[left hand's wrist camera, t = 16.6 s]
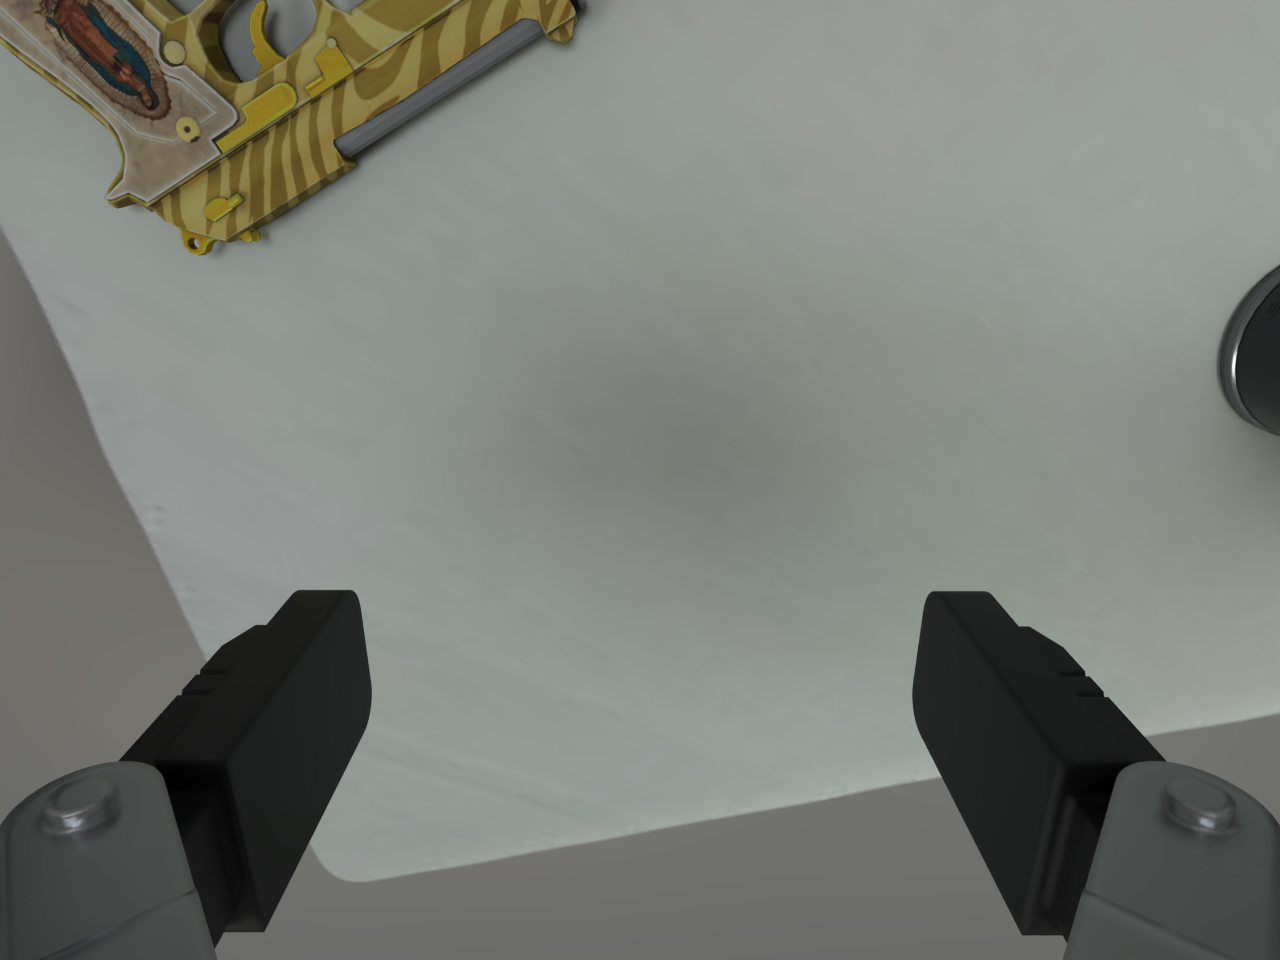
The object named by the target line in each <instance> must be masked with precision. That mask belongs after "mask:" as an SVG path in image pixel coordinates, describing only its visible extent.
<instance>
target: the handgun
mask: <svg viewBox="0 0 1280 960" xmlns="http://www.w3.org/2000/svg"><path fill="white" fill-rule="evenodd" d="M234 1H235V0H204V1H203V2H201V3H200V4H199V5H198V6H197V7H196V8H195V9H194V10H192V11H191V12H190V13H189V14H187V15H183V14H181V13H180V12H179V11H177V10H176V9H175V8H174V7H173V6H172V5H171V4H170V3H169V2H168V1H167V0H0V44H1V45H3V46H4V47H5V48H6V49H7V50H9V51H10V52H11V53H12V54H13V55H15V56H16V57H17V58H18V59H19V60H21V61H22V62H23V63H24V64H25V65H27V66H28V67H29V68H30V69H32V70H33V71H34V72H36V73H37V74H38V75H40V76H41V77H42V78H44V79H45V80H46V81H48V82H49V83H51V84H52V85H53V86H55V87H56V88H57V89H59V90H60V91H61V92H63V93H64V94H65V95H67V96H68V97H69V98H71V99H72V100H73V101H75V102H77V103H78V104H79V105H81V106H82V107H83V108H84V109H85V110H87V111H88V112H89V113H90V114H91V115H93V116H94V117H95V118H96V119H97V120H98V121H99V122H101V123H102V124H103V125H104V126H105V127H106V128H107V129H108V130H109V131H110V132H111V133H112V135H113V136H114V137H115V139H116V142H117V144H118V147H119V150H120V153H121V155H122V166H121V169H120V171H119V173H118V175H117V176H116V178H115V179H114V180H113V182H112V184H111V186H110V187H109V189H108V191H107V194H106V196H105V200H106V202H108V203H109V204H110V205H111V206H113V207H115V208H117V209H118V208H122V207H125V206H129V205H133V204H136V203H139V204H141V205H142V206H144V207H145V208H147V209H148V210H150V211H151V212H152V211H155V212H156V213H157V214H158V215H159V216H160V217H161V218H162V219H163V220H164V221H166V222H168V223H170V224H172V225H174V226H177V227H179V230H180V233H181V239H182V242H183V245H184V247H185V248H186V249H187V250H188V252H189V253H191V254H195V255H206V254H207V253H209V252H210V251H211V250H212V247H213V245H214V243H215V241H217V240H222V241H226V242H229V243H230V242H233V241H237V240H240V239H243V240H244V241H245V242H248V243H250V242H252V241H255V242H258V241H260V240H261V235H260V233H259V231H258V229H259V228H260V227H262V226H263V225H265V224H267V223H268V222H270V221H271V220H273V219H274V218H276V217H278V216H279V215H281V214H282V213H284V212H285V211H287V210H289V209H290V208H292V207H293V206H295V205H296V204H298V203H300V202H301V201H303V200H304V199H306V198H307V197H309V196H311V195H312V194H314V193H315V192H317V191H318V190H320V189H321V188H323V187H325V186H326V185H328V184H329V183H331V182H332V181H334V180H336V179H337V178H339V177H340V176H342V175H343V174H345V173H347V172H348V171H350V170H351V169H353V168H354V167H356V162H355V160H354V159H353V157H352V156H353V155H354V154H356V153H357V152H359V151H361V150H362V149H364V148H365V147H367V146H368V145H370V144H371V143H373V142H375V141H376V140H378V139H379V138H381V137H382V136H384V135H386V134H387V133H389V132H390V131H392V130H393V129H395V128H397V127H398V126H400V125H401V124H403V123H404V122H406V121H407V120H409V119H411V118H412V117H414V116H415V115H417V114H418V113H420V112H422V111H423V110H425V109H426V108H428V107H429V106H431V105H432V104H434V103H436V102H437V101H439V100H440V99H442V98H443V97H445V96H447V95H448V94H450V93H451V92H453V91H454V90H456V89H458V88H459V87H461V86H462V85H464V84H465V83H467V82H468V81H470V80H472V79H473V78H475V77H476V76H478V75H479V74H481V73H483V72H484V71H486V70H487V69H489V68H490V67H492V66H493V65H495V64H497V63H498V62H500V61H501V60H503V59H504V58H506V57H508V56H509V55H511V54H512V53H514V52H515V51H517V50H518V49H520V48H522V47H523V46H525V45H526V44H528V43H529V42H531V41H533V40H534V39H536V38H537V37H539V36H540V35H542V34H544V33H545V35H546V37H547V39H548V40H549V41H551V40H554V41H557V42H561V43H567V42H568V41H570V40H571V39H572V38H573V32H574V26H575V25H576V24H577V22H578V19H577V16H576V12H578V11H579V10H581V9H583V8H584V7H586V6H587V4H588V3H587V0H364V1H363V2H361V3H360V4H358V5H357V6H355V7H354V8H353V9H351V12H344V11H342V10H340V9H338V8H336V7H335V6H334V5H333V4H332V3H331V2H330V1H329V0H313V2H314V4H315V6H316V11H317V18H316V23H315V26H314V28H313V30H312V33H311V35H310V36H309V37H308V38H307V39H306V40H305V41H304V42H303V43H302V44H301V45H300V46H298V47H297V48H296V49H295V50H294V51H293V52H292V53H291V54H290V55H289V56H288V57H287V58H286V59H285V58H283V57H282V56H280V55H279V54H278V53H277V52H276V51H275V50H274V49H273V48H272V46H271V45H270V44H269V42H268V41H267V38H266V36H265V33H264V20H265V16H266V13H267V9H268V5H267V2H266V0H261V1H260V2H258V3H257V4H256V6H255V8H254V10H253V12H252V14H251V16H250V24H249V30H250V34H251V38H252V41H253V43H254V45H255V47H254V48H253V49H252V50H251V51H252V53H253V54H254V56H255V58H256V59H257V60H258V62H259V63H260V65H261V68H260V70H259V72H258V74H257V77H256V78H255V79H252V80H249V81H246V82H243V83H241V82H240V81H239V80H238V79H237V78H236V76H235V75H234V74H233V72H232V71H231V70H230V68H229V66H228V64H227V62H226V60H225V58H224V56H223V53H222V51H221V48H220V46H219V43H218V24H219V23H220V21H221V19H222V17H223V15H224V13H225V11H226V10H227V9H228V8H229V7H230V5H231V4H232V3H233V2H234ZM195 238H196V239H197V240H198V241H199V248H197V247H196V246H195V244H194V240H195Z"/></svg>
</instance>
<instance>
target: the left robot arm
mask: <svg viewBox="0 0 1280 960" xmlns="http://www.w3.org/2000/svg"><path fill="white" fill-rule="evenodd" d="M1220 373H1221V381H1222V385H1223V389H1224V392H1225V394H1226V397H1227V399H1228V401H1229V402H1230V404H1231V406H1232V407H1233V408H1234V410H1235V411H1236V412H1237V413H1238V414H1239V415H1240V416H1241V417H1242V418H1243V419H1244V420H1246V421H1247V422H1248V423H1250V424H1252V425H1253V426H1255V427H1257V428H1260V429H1262V430H1265V431H1267V432H1270V433H1272V434H1275V435H1278V436H1280V268H1278V269H1277V270H1275V271H1274V272H1273V273H1271V274H1270V275H1269V276H1268V277H1266V278H1265V279H1264V280H1263V281H1262V282H1261V283H1260V284H1259V285H1258V286H1257V287H1256V288H1255V289H1254V290H1253V291H1252V292H1251V293H1250V294H1249V296H1248V297H1247V298H1246V299H1245V301H1244V302H1243V303H1242V305H1241V306H1240V308H1239V309H1238V311H1237V312H1236V314H1235V316H1234V318H1233V320H1232V322H1231V324H1230V326H1229V328H1228V331H1227V333H1226V336H1225V339H1224V343H1223V347H1222V352H1221V361H1220ZM912 699H913V710H914V716H915V721H916V724H917V727H918V730H919V733H920V735H921V737H922V739H923V741H924V743H925V745H926V747H927V749H928V751H929V752H930V754H931V756H932V758H933V760H934V762H935V764H936V766H937V768H938V770H939V772H940V774H941V776H942V778H943V780H944V782H945V784H946V786H947V788H948V790H949V792H950V794H951V796H952V798H953V800H954V802H955V804H956V806H957V808H958V810H959V812H960V814H961V816H962V818H963V820H964V822H965V824H966V826H967V827H968V829H969V831H970V833H971V835H972V837H973V839H974V841H975V843H976V845H977V847H978V849H979V851H980V853H981V855H982V857H983V859H984V861H985V863H986V865H987V867H988V869H989V871H990V873H991V875H992V877H993V879H994V881H995V883H996V885H997V887H998V889H999V891H1000V893H1001V895H1002V897H1003V899H1004V901H1005V902H1006V905H1007V906H1008V908H1009V910H1010V912H1011V914H1012V916H1013V918H1014V920H1015V922H1016V924H1017V926H1018V928H1019V930H1020V932H1021V934H1022V935H1063V937H1064V939H1065V940H1066V942H1067V946H1066V950H1065V953H1064V957H1063V960H1280V825H1279V824H1278V822H1277V821H1276V819H1275V818H1274V817H1273V815H1272V814H1271V813H1270V812H1269V811H1268V810H1267V809H1266V808H1265V807H1264V806H1263V805H1262V804H1261V803H1259V802H1258V801H1257V800H1256V799H1255V798H1253V797H1252V796H1251V795H1249V794H1248V793H1246V792H1245V791H1243V790H1242V789H1240V788H1239V787H1237V786H1235V785H1233V784H1232V783H1230V782H1228V781H1226V780H1224V779H1222V778H1220V777H1218V776H1216V775H1213V774H1210V773H1208V772H1205V771H1203V770H1200V769H1197V768H1193V767H1190V766H1186V765H1182V764H1177V763H1171V762H1167V761H1166V760H1165V759H1164V758H1163V757H1162V756H1161V755H1160V754H1159V752H1158V751H1157V750H1156V749H1155V748H1154V747H1153V746H1152V745H1151V744H1150V743H1149V741H1148V740H1147V739H1146V738H1145V737H1144V736H1143V735H1142V734H1141V733H1140V731H1139V730H1138V729H1137V728H1136V727H1135V726H1134V725H1133V724H1132V723H1131V722H1130V720H1129V719H1128V718H1127V717H1126V716H1125V715H1124V714H1123V713H1122V712H1121V711H1120V709H1119V708H1118V707H1117V706H1116V705H1115V704H1114V703H1113V702H1112V701H1111V700H1110V698H1109V697H1104V692H1103V691H1102V690H1101V688H1100V687H1099V686H1098V685H1097V684H1096V683H1095V682H1094V681H1093V680H1092V679H1091V677H1090V676H1085V671H1084V670H1083V669H1082V668H1081V666H1080V665H1079V664H1078V663H1077V662H1076V661H1075V660H1074V659H1073V658H1072V657H1071V655H1070V654H1069V653H1068V652H1067V651H1066V650H1065V649H1064V648H1063V647H1062V646H1060V645H1059V644H1057V643H1055V642H1054V641H1052V640H1050V639H1049V638H1047V637H1045V636H1044V635H1042V634H1041V633H1039V632H1037V631H1036V630H1034V629H1032V628H1031V627H1019V626H1018V625H1017V624H1016V623H1015V622H1014V620H1013V619H1012V618H1011V617H1010V616H1009V615H1008V613H1007V612H1006V611H1005V610H1004V609H1003V607H1002V606H1001V605H1000V604H999V603H998V602H997V600H996V599H995V598H994V597H993V596H992V595H991V594H990V593H989V592H986V591H933V592H931V593H930V594H929V595H928V597H927V599H926V601H925V605H924V610H923V617H922V624H921V631H920V638H919V645H918V652H917V659H916V667H915V674H914V681H913V691H912ZM371 700H372V687H371V678H370V671H369V664H368V657H367V650H366V643H365V635H364V628H363V621H362V614H361V607H360V602H359V599H358V597H357V595H356V593H355V592H354V591H352V590H297V591H296V592H294V593H293V594H292V595H291V596H290V598H289V599H288V600H287V601H286V602H285V604H284V605H283V606H282V607H281V608H280V610H279V611H278V612H277V613H276V614H275V615H274V617H273V618H272V619H271V620H270V621H269V623H268V624H267V625H255V626H253V627H252V628H250V629H249V630H247V631H245V632H244V633H242V634H240V635H239V636H237V637H236V638H234V639H232V640H231V641H229V642H227V643H226V644H224V645H222V646H221V648H220V649H219V650H218V651H217V652H216V653H215V654H214V655H213V656H212V658H211V659H210V660H209V661H208V662H207V663H206V664H205V665H204V666H203V668H202V669H201V670H200V675H195V676H194V678H193V679H192V680H191V681H190V682H189V683H188V684H187V685H186V686H185V688H184V689H183V690H182V695H177V697H176V698H175V699H174V700H173V701H172V702H171V703H170V704H169V706H167V708H166V709H165V710H164V711H163V712H162V713H161V714H160V715H159V716H158V718H157V719H156V720H155V721H154V722H153V723H152V724H151V725H150V727H149V728H148V729H147V730H146V731H145V732H144V733H143V734H142V735H141V736H140V738H139V739H138V740H137V741H136V742H135V743H134V744H133V745H132V746H131V748H130V749H129V750H128V751H127V752H126V753H125V754H124V755H123V757H122V758H121V759H120V760H119V761H117V762H109V763H103V764H98V765H94V766H90V767H87V768H83V769H80V770H77V771H75V772H72V773H70V774H67V775H64V776H62V777H60V778H58V779H56V780H54V781H52V782H50V783H48V784H47V785H45V786H43V787H41V788H40V789H38V790H37V791H35V792H34V793H32V794H31V795H29V796H28V797H27V798H25V799H24V800H23V801H22V802H21V803H19V804H18V805H17V806H16V807H15V808H14V809H13V810H12V811H11V812H10V813H9V814H8V815H7V817H6V818H5V819H4V821H3V822H2V824H1V825H0V960H217V957H216V953H215V950H214V949H215V947H216V946H217V944H218V942H219V940H220V938H221V936H222V935H223V933H224V932H264V931H265V929H266V927H267V925H268V923H269V921H270V919H271V917H272V915H273V913H274V911H275V909H276V907H277V905H278V903H279V901H280V899H281V897H282V895H283V893H284V891H285V889H286V887H287V885H288V883H289V881H290V879H291V877H292V875H293V873H294V871H295V869H296V867H297V865H298V863H299V861H300V859H301V857H302V855H303V853H304V851H305V849H306V847H307V845H308V843H309V841H310V839H311V837H312V835H313V833H314V831H315V829H316V827H317V825H318V823H319V821H320V819H321V817H322V815H323V813H324V811H325V809H326V807H327V805H328V803H329V801H330V799H331V797H332V795H333V793H334V791H335V789H336V787H337V785H338V783H339V781H340V779H341V777H342V775H343V773H344V771H345V770H346V768H347V766H348V764H349V762H350V760H351V758H352V756H353V754H354V752H355V750H356V748H357V746H358V744H359V742H360V740H361V738H362V736H363V734H364V731H365V729H366V726H367V723H368V720H369V715H370V709H371Z"/></svg>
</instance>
